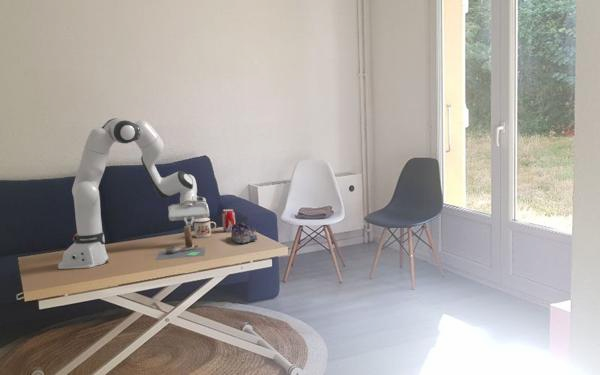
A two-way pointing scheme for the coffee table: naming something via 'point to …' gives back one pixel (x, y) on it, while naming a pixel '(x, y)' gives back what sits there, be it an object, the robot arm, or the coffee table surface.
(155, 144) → the robot arm
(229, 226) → the soda can
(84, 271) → the coffee table surface
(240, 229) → the geode
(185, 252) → the dial plate
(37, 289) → the coffee table surface
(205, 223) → the teacup with lid
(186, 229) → the tuning lever
